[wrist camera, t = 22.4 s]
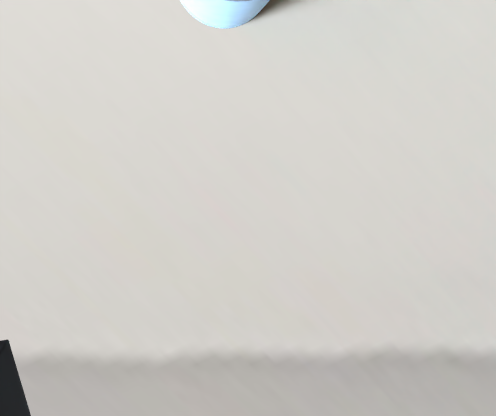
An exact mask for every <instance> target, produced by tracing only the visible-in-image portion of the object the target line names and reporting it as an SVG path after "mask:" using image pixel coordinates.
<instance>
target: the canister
mask: <svg viewBox="0 0 496 416" xmlns="http://www.w3.org/2000/svg"><path fill="white" fill-rule="evenodd" d="M180 1H181V2H182V4H183V6H184V7H185V8H186V10H187V11H188V12H189V13H190V14H191V15H192V16H193V17H194V18H196V19H197V20H198V21H200V22H202V23H204V24H206V25H208V26H211V27H216V28H233V27H237V26H240V25H242V24H244V23H246V22H248V21H250V20H251V19H252V18H254V17H255V16H256V15H257V14H258V13H259V12H260V11H261V9H262V8H263V7H264V6H265V5H266V4H267V3H268V2H269V1H270V0H180Z"/></svg>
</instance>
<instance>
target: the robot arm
mask: <svg viewBox="0 0 496 416" xmlns="http://www.w3.org/2000/svg"><path fill="white" fill-rule="evenodd" d="M0 416H31V415H30V411H29V408H28V405H27V401H26V398H25V395H24V391H23V388H22V385H21V381H20V378H19V374H18V371H17V368H16V364H15V361H14V358H13V354H12V351H11V347H10V344H9V341H8V340H3V341H0Z"/></svg>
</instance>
